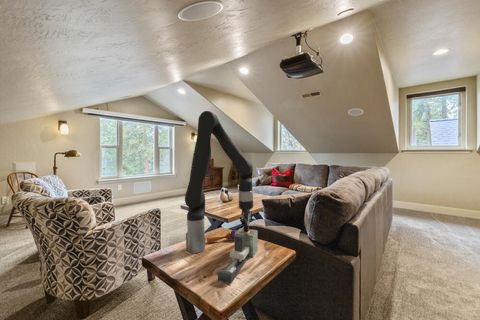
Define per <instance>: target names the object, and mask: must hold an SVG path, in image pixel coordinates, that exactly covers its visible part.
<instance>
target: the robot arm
mask: <svg viewBox="0 0 480 320" xmlns="http://www.w3.org/2000/svg"><path fill="white" fill-rule="evenodd" d="M197 121H198V122H197V135H196V140H195V145H194V151H193V154H192V155H193V156H192V162H191V166H190V167H191V168H190V173H189V174H190V176H189V181H188V185H187V189H186V193H185V194H184V202H185V204H186V207H188V211H187V214H186V223H187V224H186V225H187V226H186V229H187V230H186V233H185V249H186V251H188V252H189V253H190V254H199V253H201V252H204V251H205V250H206V237H205V235H206V233H205V232H206V231H205V229H206V228H205V215H206V213H205V212H206V194H205V192H204V191H203V185H204V181H205V179H206V176H207V175H208V172H209V168H210V164H211V158H212V147H211V144H212V143H211V138H212V135H213V136H214V138H215V139H216V140H217V141H218V143H219V146H220V147H221V149H222V150H223V151H224V153H225V154H226V156H227V157H228V159H229V160H230V161H231V162H232V164H233V166H234V167H235V169H236V170H237V172H238V173H239V181H238V208H239V210H241V216H240V217H239V220H240V223H241V225H242V226H243V229H244V232H248V231H249V229H250V227H249V224H250V222H251V218H252V214H253V212H252V211H251V210H253V208H254V194H253V193H254V192H253V175H254V174H253V171H254V169H253V168H254V166H253V165H252V163H251V162H250V161H249V160H247V159H246V158H245V156H244V155H243V152H242V150H241V149H240V148H239V147H238V145H236V143H235V142H234V141H233V139H232V138H231V136H229V134H228V133H227V131H226V130H225V129H224V126H223V125H222V123H221V121H220V120H219V118H218V116H217V114H215V113H213V112H211V110H204V111H203V112H201V113H200V115H199V117H198V120H197Z"/></svg>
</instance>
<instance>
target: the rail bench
mask: <svg viewBox="0 0 480 320" xmlns="http://www.w3.org/2000/svg"><path fill="white" fill-rule="evenodd" d="M237 230H238V231H237V232H236V233H235V235H236V234H240V235H244V247H249V253H248V254H247V256H246V257H245V259H244V260H242V261H241V262H239V259H236V258H235V260H234V261H233V258H231V261H230V262H229V263H228V264H227V265H226V266H225V268H224V269H218V270H217V281H219V282H223V283H226V284H232V283H233V282H234V280H235V278H237V276H238V275H239V273H240V271H241V270H242V268H243V267H244V266H245V264H246V263H247V261H248V260H249V258H254V257H255V255H257V252H258V243H259V242H258V241H259V239H258V230H257V229H250V228H249V231H250V234H243V233H242V231H243V230H244V227H243V228H241V227H239V229H237Z"/></svg>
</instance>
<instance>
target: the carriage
mask: <svg viewBox="0 0 480 320" xmlns="http://www.w3.org/2000/svg"><path fill="white" fill-rule="evenodd" d="M233 242H234V247H233V248H232V249H231V250H230V251H229V258H231V259H233V261H234V260H235V258H236V259H239V262H241V261H242V260H244V259H245V257H246V256H247V254H248V253H249V247H244V235H240V234H236V235H235V236H234V240H233Z"/></svg>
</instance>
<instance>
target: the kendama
mask: <svg viewBox="0 0 480 320" xmlns="http://www.w3.org/2000/svg"><path fill="white" fill-rule="evenodd" d="M238 230H239V229H233V230H231V231H230V232H228V233H227V234H225V235H223V236H215V237H214V236H213V237H207V238H206V242H207V244H212V243H215V242H217V241H220V240H223V239H227V240H233V241H234V236H235V233H236V232H237V231H238Z"/></svg>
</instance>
